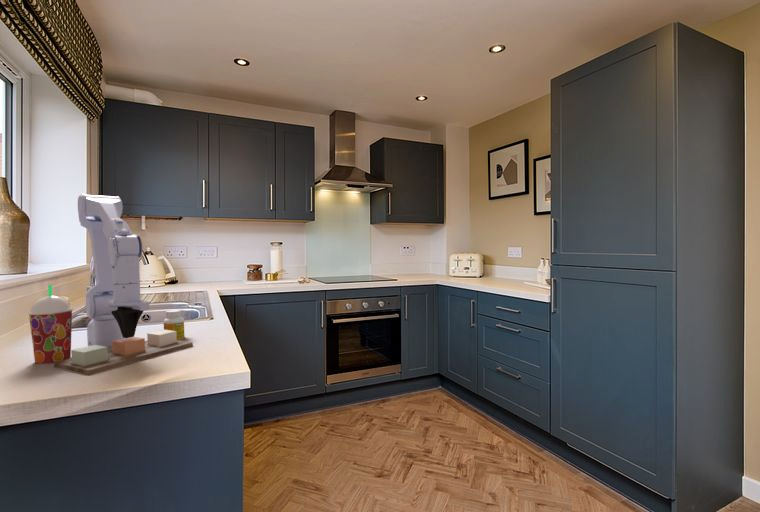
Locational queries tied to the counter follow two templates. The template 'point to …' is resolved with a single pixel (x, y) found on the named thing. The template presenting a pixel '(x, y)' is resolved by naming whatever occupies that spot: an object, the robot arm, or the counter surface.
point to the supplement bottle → (174, 323)
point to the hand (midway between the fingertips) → (128, 337)
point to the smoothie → (51, 329)
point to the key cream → (162, 338)
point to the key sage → (89, 355)
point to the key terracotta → (128, 346)
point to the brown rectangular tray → (122, 358)
